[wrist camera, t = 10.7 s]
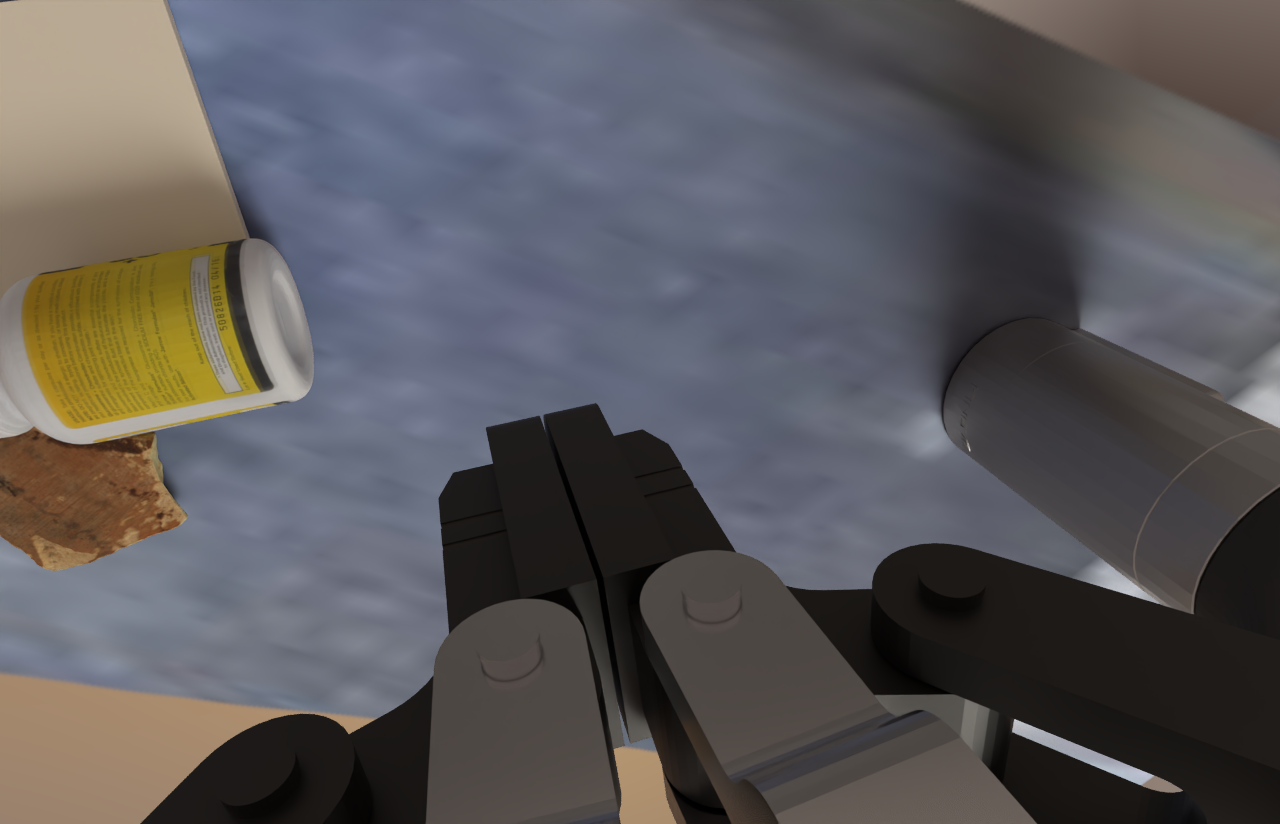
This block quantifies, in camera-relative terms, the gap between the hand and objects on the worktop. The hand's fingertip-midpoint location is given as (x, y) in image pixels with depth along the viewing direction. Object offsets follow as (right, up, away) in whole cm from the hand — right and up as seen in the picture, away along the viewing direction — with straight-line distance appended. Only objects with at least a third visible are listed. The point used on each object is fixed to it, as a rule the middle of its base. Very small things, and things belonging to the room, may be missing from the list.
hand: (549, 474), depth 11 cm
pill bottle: (-12, +5, +20) cm, 24 cm away
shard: (-25, -2, +24) cm, 35 cm away
